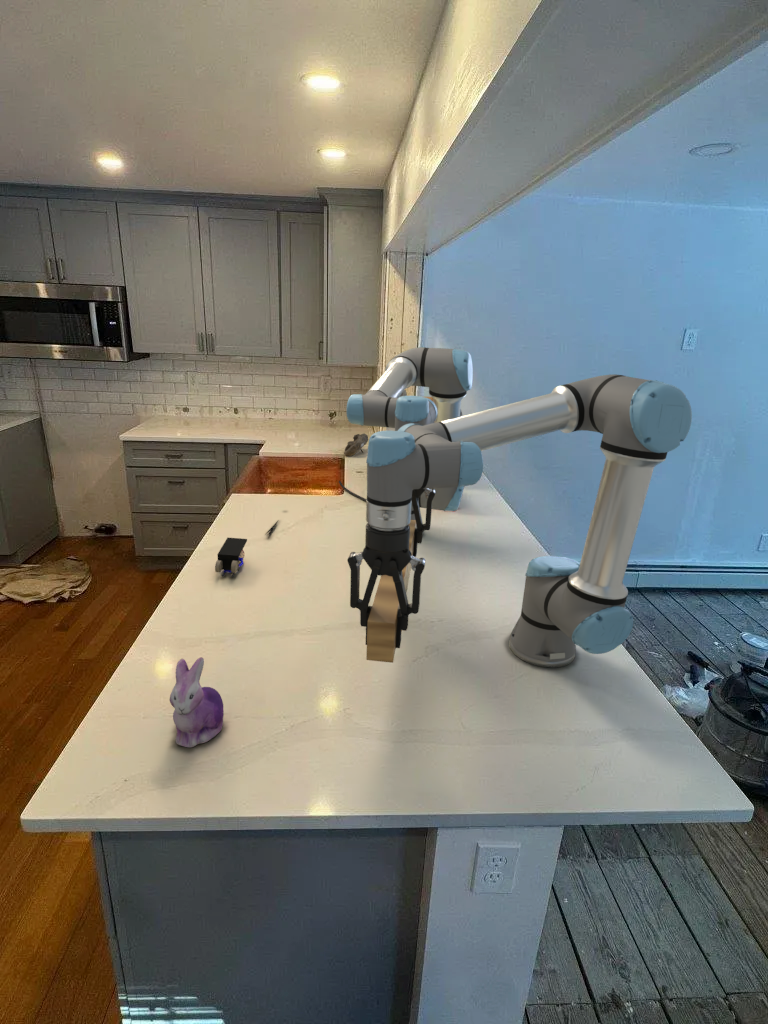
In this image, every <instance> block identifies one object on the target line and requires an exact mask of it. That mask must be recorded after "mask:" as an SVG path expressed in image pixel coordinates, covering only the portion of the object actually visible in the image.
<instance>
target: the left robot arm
mask: <svg viewBox="0 0 768 1024" xmlns="http://www.w3.org/2000/svg"><path fill="white" fill-rule="evenodd" d="M473 368H474V367H473V360H472V355H471V354H470V352H469V351H467V350H464V349H457V348H441V347H425V346H423V347H422V346H419V347H413V348H410V349H407V350H404V351H402V352H400V353H398V354H397V355H395V356H393V357H392V358H391V359H390V360H389V361H388V363H387V364H386V366H385V369H384V373H382V375H381V376H380V377H379V378H378V379H377V380H376V381H375V383H374V384H373V385H372V386H371V387H370V388H369V389H368V391H367V392H366V393H365V394H362V393H358V394H357V393H356V394H355V393H353V394H351V395H350V396H349V397H348V399H347V403H346V418H347V421H348V422H349V423H350V424H351V425H352V424H353V425H359V426H361V427H362V426H367V427H379V428H386V427H389V428H395V431H398V430H399V429H400V428H401V427H402V426H404V425H406V424H410V423H414V424H420V425H423V426H424V425H428V424H432V423H437V422H441V421H445V420H449V419H453V418H457V417H460V409H461V410H462V407H461V406H462V401H463V399H465V397H466V396H467V393H468V391H471V390H472V388H473V378H474V369H473ZM410 387H421V388H423V387H424V388H428V395H429V397H432V398H433V399H434V402H433V401H432V400H430V399H428V398H425V397H426V396H422V395H421V396H420V395H407V396H401V397H400V395H401V394H402V393H403V391H404V390H406V389H408V388H410ZM338 483H339V485H340V487H341V488H342V489H343V490H344V491H346V492H347V493H349V494H350V495H351V496H354V497H356V498H358V499H360V500H362V501H364V502H366V501H367V498H365V497H362V496H361V495H358V494H357V493H355V492H352V491H351V490H349V489H348V488H347V487H345V485H344V484H343V483H342V481H341V480H338ZM464 488H465V486H462V487H459V488H457V487H448V488H430V489H414V490H412V503H411V520H416V528H415V532H414V548H413V556H414V557H416V558H417V554H418V544H420V545H421V544H422V542H423V535H424V534H423V532H424V531H430V529H431V525H432V523H431V522H432V510H436V511H443V512H456V511H457V510H458V509H459V508H460V504H461V501H462V498H463V493H464ZM421 508H422V509H425V521H424V522H423V518H422V512H421Z"/></svg>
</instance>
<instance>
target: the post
mask: <svg viewBox="0 0 768 1024" xmlns="http://www.w3.org/2000/svg"><path fill="white" fill-rule="evenodd" d="M408 525H409V526H410V539H409V550H410V552H411V554H412V556H413V548H414V532H415V528H416V520H411V521H410V524H408ZM411 566H412V565H411V563H408V564H407V566H406V567H405V568H404V569H403V570H402V575H403V580H404V585H405V589H406V593H407V591H408V586H409V582H410V575H411V570H412V569H411ZM375 591H376V592H375V595H374V598H373V602H372V605H371V606H372V608H371V611H370V615H369V618H368V624H367V645H366V655H365V656H366V658H365V659H366V661H372V662H373V661H374V662H381V663H392V664H393V663H394V661H395V654H396V649H397V648H396V629H397V615H398V610H399V609H400V606H399V601H398V597H397V592H396V588H395V583H394V581H393V577H392V576H388V575H380V578H379V582H378V585H377V589H376V590H375Z"/></svg>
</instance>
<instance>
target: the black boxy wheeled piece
mask: <svg viewBox="0 0 768 1024" xmlns="http://www.w3.org/2000/svg"><path fill="white" fill-rule="evenodd" d="M247 542H248V538H240V537H226V539H225V541H224V543H223V544H222V546H221V547H220V549H219V551H218V552H217V560H216V562H215V564H214V572H215V573H221V577H222V578H224V577H225V576H226V574H227V573H230V574H231V573H232V574H231V578H234V577H235V575H236V573H237V572H239V571H240V567H242V566H243V565H244V564H245V562H244V558H245V551H244V547H245V546H246V544H247Z"/></svg>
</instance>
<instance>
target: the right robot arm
mask: <svg viewBox="0 0 768 1024" xmlns="http://www.w3.org/2000/svg"><path fill="white" fill-rule="evenodd" d="M692 420H693V411H692V406H691V402H690V400H689V399H688V398H687V395H686V393H684V392H683V390H682V389H680V388H679V387H677V386H675V385H672V384H669V383H667V382H666V383H665V382H664V381H660V380H656V379H655V380H652V379H645V378H639V377H633V376H627V375H623V374H603V375H597V376H592V377H589V378H584V379H580V380H576V381H573V382H568V383H565V384H561V385H557V386H555V387H554V388H552V390H551V392H550V393H547V394H543V395H540V396H535V397H531V398H527V399H524V400H520V401H515V402H511V403H507V404H504V405H500V406H497V407H492V408H489V409H484V410H481V411H477V412H473V413H470V414H465V415H462V416H461V417H457V418H453V419H449V420H445V421H441V422H437V423H432V424H428V425H424V426H423V425H420V424H414V423H410V424H406V425H404V426H402V427H401V428H400V429H399V430H398V431H391V430H389V431H386V430H380V431H375V432H374V433H372V434H371V436H370V437H369V438H368V444H367V455H366V459H365V460H366V499H367V501H365V502H366V504H365V505H366V507H365V521H366V525H365V536H364V537H365V540H364V542H365V543H364V548H363V549H362V551H360V552H355V551H351V552H350V553H349V555H348V557H347V564H348V567H349V570H350V592H349V594H350V595H349V596H350V597H349V605H350V608H352V609H358V611H359V612H360V614H359V615H360V617H359V620H360V621H359V624H360V626H361V627H365V646H367V624H368V618H369V615H370V611H371V608H372V605H369V604H370V601H371V599H372V595H373V592H374V589H375V585H376V582H377V579H378V576H381V575H388V576H392V577H393V581H394V583H395V588H396V592H397V597H398V601H399V606H400V609H399V610H398V615H397V629H396V649H400V648H401V643H402V634H403V632H402V631H407V630H408V627H409V615H412V614H414V615H418V613H419V611H420V601H421V600H420V599H421V584H422V574H423V572H424V570H425V566H426V558H425V557H420V558H419V557H417V556H416V557H414V556H412V554H411V552H410V550H409V539H410V526H409V525H408V524H410V521H411V503H412V490H414V489H430V488H448V487H457V488H459V487H462V486H464V487H468V486H474V485H476V484H477V483H478V482H479V481H480V480H481V478H482V475H483V470H484V456H483V453H482V452H484V451H487V450H491V449H494V448H498V447H503V446H505V445H510V444H513V443H518V442H522V441H524V440H525V441H526V440H528V439H532V438H535V437H536V438H537V437H539V436H544V435H546V434H550V433H555V432H558V431H560V432H561V433H564V434H571V433H573V432H574V433H575V432H578V431H579V432H580V431H588V432H593V433H594V432H595V433H599V434H602V437H601V442H600V446H599V449H600V451H601V453H602V454H603V456H604V457H605V460H604V465H603V469H602V472H601V477H600V481H599V485H598V489H597V494H596V497H595V501H594V506H593V509H592V514H591V517H590V521H589V524H588V525H589V526H588V528H587V534H586V538H585V542H584V545H583V550H582V553H581V559H580V562H579V561H578V560H575V559H572V558H569V557H564V556H558V555H543V556H537V557H534V558H532V559H531V560H530V561H529V562H528V565H527V568H526V572H525V583H524V587H523V596H522V604H521V609H520V610H521V611H520V615H519V617H518V619H517V621H516V623H515V625H514V627H513V628H512V630H511V631H510V635H509V639H508V646H509V649H510V651H511V652H512V654H514V655H515V656H516V657H517V658H519V659H520V660H522V661H524V662H526V663H529V664H530V665H533V666H538V667H543V668H562V667H565V666H567V665H569V664H571V663H572V662H573V661H574V660H575V658H576V653H577V647H580V648H581V649H582V650H583V651H584V652H586V653H589V654H592V655H603V654H607V653H609V652H611V651H614V650H615V649H616V648H617V647H619V646H620V645H622V644H623V643H624V642H625V641H626V640H627V638H628V637H629V636H630V634H631V632H632V630H633V628H634V627H633V626H634V617H633V615H632V613H631V612H630V610H629V609H628V608H627V607H625V606H626V602H627V597H628V595H629V590H628V588H627V586H626V585H625V584H624V578H625V575H626V571H627V567H628V564H629V560H630V556H631V553H632V550H633V546H634V543H635V539H636V534H637V532H638V527H639V523H640V520H641V516H642V513H643V509H644V505H645V501H646V499H647V495H648V492H649V487H650V484H651V481H652V476H653V472H654V469H655V468H656V466H658V465H660V464H662V463H664V462H665V461H666V459H667V456H668V453H669V452H672V451H674V450H676V449H678V448H679V446H681V443H682V442H684V441H685V440H686V438H687V436H688V434H689V433H690V430H691V426H692ZM363 561H365V563H366V565H367V566H368V567H369V569H370V571H371V572H370V576H369V578H368V582H367V585H366V589H365V592H364V593H363V598H360V581H361V565H362V563H363ZM408 563H411V565H412V566H411V570H412V571H413V578H412V595H411V596H412V597H411V603H409V598H408V593H407V592H406V589H405V585H404V580H403V575H402V570H403V569H404V568H405V567H406V566H407V564H408Z"/></svg>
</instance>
